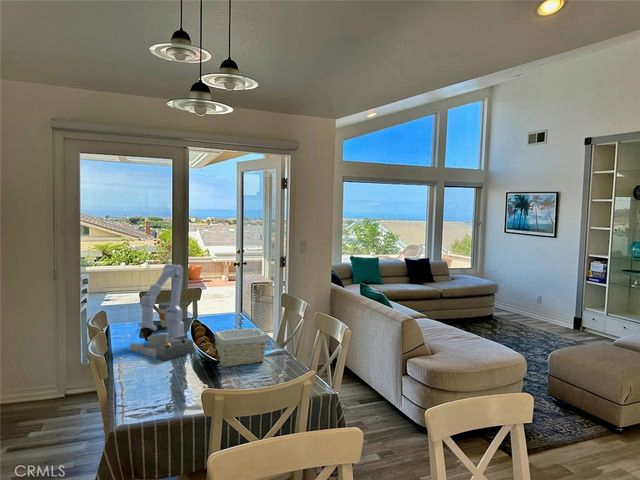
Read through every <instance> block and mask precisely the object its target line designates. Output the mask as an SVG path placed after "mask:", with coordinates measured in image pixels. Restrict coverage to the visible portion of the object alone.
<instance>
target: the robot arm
mask: <svg viewBox="0 0 640 480" xmlns="http://www.w3.org/2000/svg"><path fill="white" fill-rule="evenodd" d="M183 275H184V268H183V266H182V265H181V264H172V263H171V264H170V263H166V264H165V265H164V267H163V268H162V273H161V275H160V276H159V277H158V279H157V281H156V283H155V284H152V285H151V286H150V287H149V289H148V290H147V292H146V293H145V295H143V296H141V297H140V299H139V304H140V308H141V322H138V324H137V327H139V328H141V329H140V331H141V333H142V335H143V338H144V341H145V342H148V339H147V337H149V336H151V335H153V333H154V331H157V330H158V326H157V325H155V324H154V305H155V304H156V303H157V302H156V301H157V297H158V296H159V295H160V293H161V291H162V287H163V286H164V284H165V283H166V282H167V281H168V279H169V278H171V280H172V285H171V294H170V300H169V301H170V306H169V307H168V308H167V309H166V312H165V314H164V319H165V320H166V322H167V327H166V334H170V335H171V338H174V339H178V338H182V337H185V335H186V334H185V324H184V322H183V318H184V317H183V316H184V315H183V309H182V308H181V307H180V302H181V294H182V293H181V292H182V285H183V278H184V277H183ZM175 311H176V312H175Z"/></svg>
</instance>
